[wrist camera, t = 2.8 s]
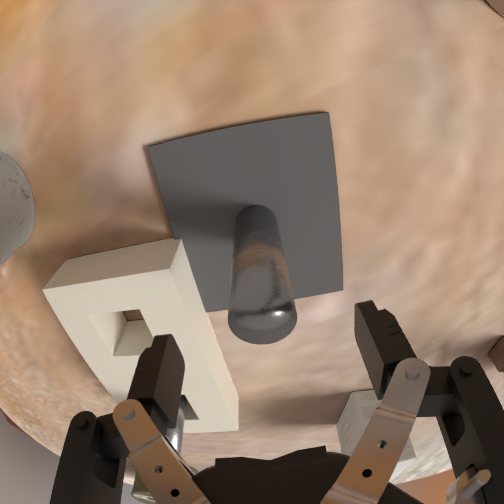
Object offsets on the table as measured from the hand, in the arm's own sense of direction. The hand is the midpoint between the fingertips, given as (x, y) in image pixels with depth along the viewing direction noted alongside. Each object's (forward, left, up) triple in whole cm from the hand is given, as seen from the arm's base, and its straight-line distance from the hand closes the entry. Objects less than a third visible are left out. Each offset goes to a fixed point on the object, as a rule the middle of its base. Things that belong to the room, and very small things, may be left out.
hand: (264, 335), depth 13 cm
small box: (+27, +9, -11) cm, 30 cm away
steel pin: (0, 0, -11) cm, 11 cm away
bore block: (+10, -11, -11) cm, 18 cm away
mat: (0, 0, -11) cm, 11 cm away
